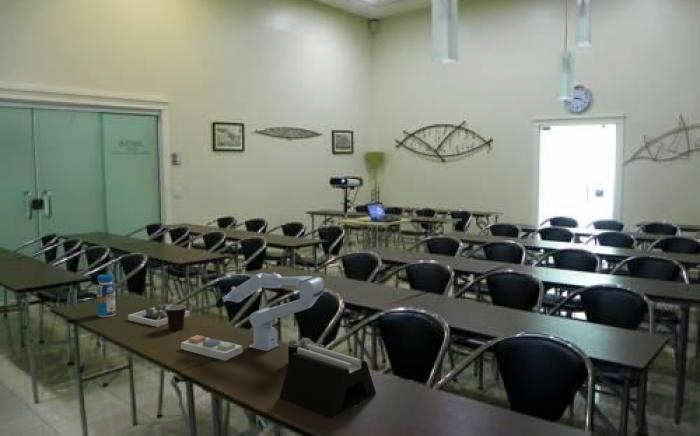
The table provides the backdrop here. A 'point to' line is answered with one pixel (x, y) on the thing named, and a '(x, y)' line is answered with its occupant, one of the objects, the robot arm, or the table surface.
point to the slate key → (211, 342)
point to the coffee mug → (176, 317)
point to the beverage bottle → (106, 296)
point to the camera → (295, 345)
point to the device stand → (326, 381)
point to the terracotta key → (197, 339)
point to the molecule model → (158, 307)
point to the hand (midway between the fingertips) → (223, 304)
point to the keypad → (211, 350)
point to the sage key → (226, 346)
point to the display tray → (139, 318)
